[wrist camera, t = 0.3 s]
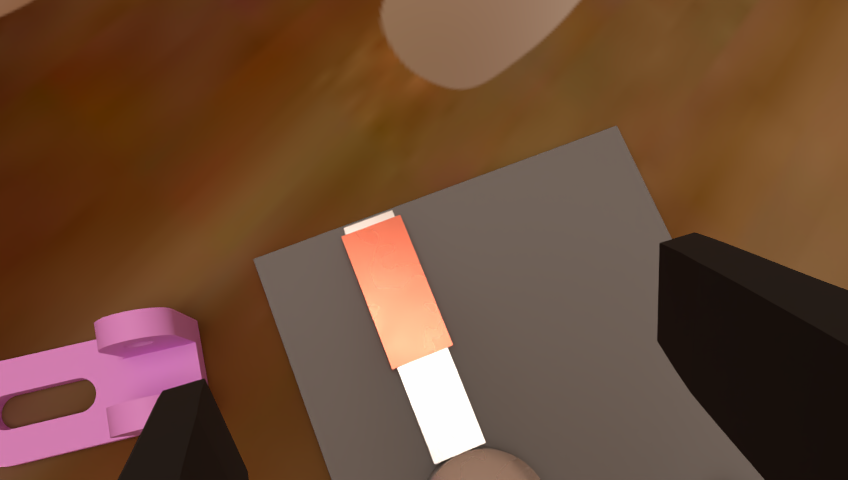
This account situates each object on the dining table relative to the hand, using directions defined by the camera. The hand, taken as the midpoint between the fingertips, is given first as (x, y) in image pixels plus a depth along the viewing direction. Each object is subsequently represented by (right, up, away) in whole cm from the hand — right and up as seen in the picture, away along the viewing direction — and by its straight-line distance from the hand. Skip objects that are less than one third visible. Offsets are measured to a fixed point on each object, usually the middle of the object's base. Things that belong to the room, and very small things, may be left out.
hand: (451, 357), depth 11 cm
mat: (+6, -9, +29) cm, 31 cm away
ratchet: (0, -7, +29) cm, 30 cm away
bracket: (-19, -7, +28) cm, 35 cm away
